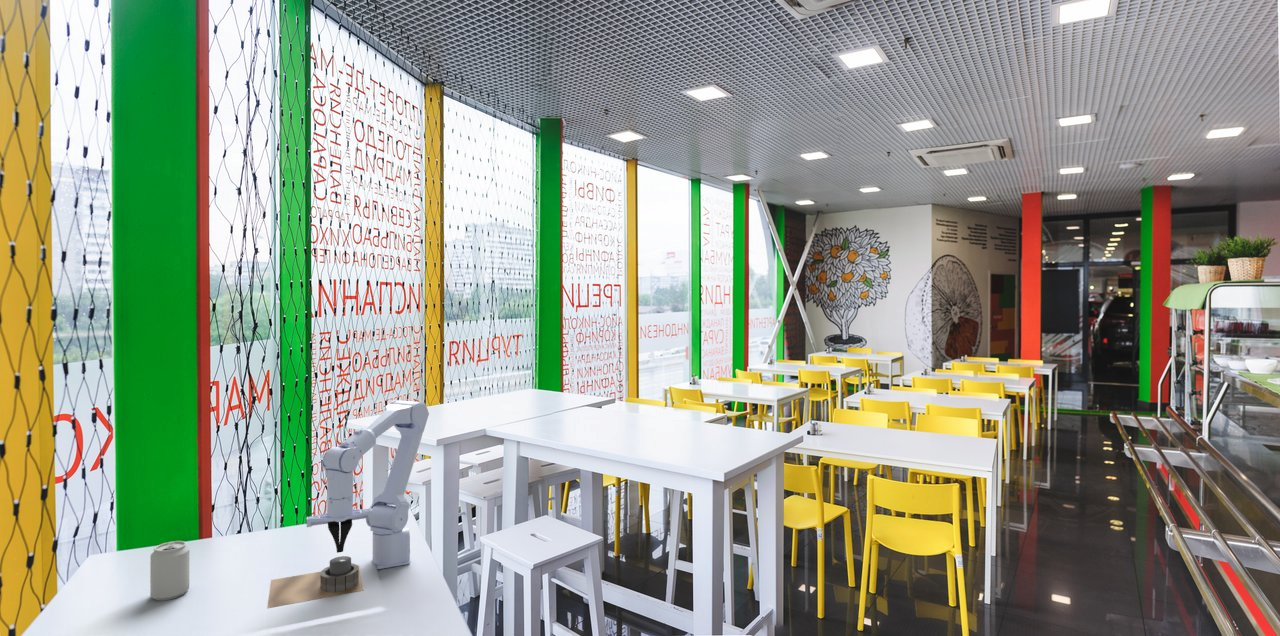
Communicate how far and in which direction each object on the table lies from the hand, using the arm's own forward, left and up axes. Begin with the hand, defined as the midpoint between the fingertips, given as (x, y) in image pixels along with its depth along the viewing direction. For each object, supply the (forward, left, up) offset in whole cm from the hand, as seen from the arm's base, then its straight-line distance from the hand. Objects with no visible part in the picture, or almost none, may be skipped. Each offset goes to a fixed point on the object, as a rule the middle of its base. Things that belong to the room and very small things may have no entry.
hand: (339, 550), depth 152 cm
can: (+36, -14, -10) cm, 40 cm away
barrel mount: (+5, -2, -9) cm, 11 cm away
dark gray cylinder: (0, 0, -8) cm, 8 cm away
